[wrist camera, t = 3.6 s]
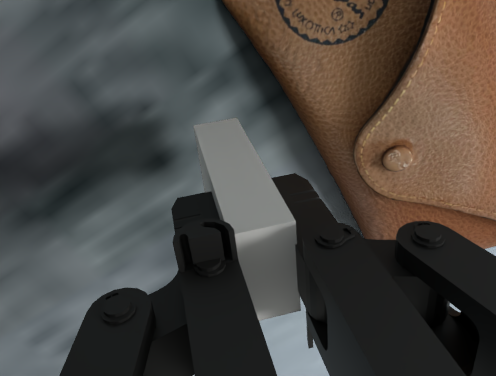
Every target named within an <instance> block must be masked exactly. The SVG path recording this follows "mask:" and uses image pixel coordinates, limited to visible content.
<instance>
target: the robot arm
mask: <svg viewBox="0 0 496 376" xmlns="http://www.w3.org/2000/svg"><path fill="white" fill-rule="evenodd" d="M193 126H194V132H195V138H196V144H197V150H198V155H199V161H200V167H201V173H202V179H203V184H204V190H205V193H200V194H195V195H190V196H185V197H180V198H177V200H176V201H175V203H174V205H173V207H172V215H173V221H174V229H175V235H174V238H173V246H174V251H175V255H176V260H177V264H178V268H179V270H178V273H177V275H176V276H175V277H174V279H173V280H172V281H171V282H170V283H168V284H167V285H166V286H164V287H163V288H161V289H159V290H158V291H155V292H153V293H151V294H149V295H147V293H146V292H144V291H142V290H140V289H138V288H122V289H117V290H113V291H111V292H109V293H107V294H105V295H102V296H101V297H100V298H99V299H97V300H96V301H95V302H94V303H93V304H92V305H91V307H90V308H89V310H88V311H87V313H86V315H85V317H84V320H83V322H82V324H81V327H80V329H79V331H78V334H77V336H76V338H75V341H74V343H73V345H72V348H71V350H70V352H69V355H68V357H67V359H66V362H65V364H64V366H63V369H62V371H61V373H60V376H192V375H194V374H195V376H277V374H276V371H275V368H274V365H273V362H272V359H271V356H270V353H269V350H268V347H267V344H266V341H265V338H264V335H263V332H262V329H261V326H260V323H259V321H260V320H264V319H268V318H272V317H276V316H280V315H284V314H288V313H293V312H297V311H301V307H300V296H301V299H302V301H303V303H304V305H305V307H306V319H307V340H308V346H309V348H312V347H313V339H314V341H315V344H316V346H317V348H318V350H319V353H320V355H321V357H322V359H323V362H324V364H325V366H326V368H327V371H328V373H329V375H330V376H496V256H494V255H493V254H491V253H489V252H488V251H486V250H485V249H483V248H481V247H480V246H478V245H476V244H475V243H473V242H472V241H470V240H468V239H467V238H465V237H463V236H462V235H460V234H459V233H457V232H455V231H454V230H452V229H450V228H449V227H446V226H444V225H442V224H440V223H435V222H430V221H414V222H410V223H406V224H405V225H403V226H402V227H400V228H399V230H398V232H397V234H396V240H375V239H365V238H362V237H361V235H360V234H359V233H358V232H357V231H356V230H355V229H354V228H352V227H350V226H348V225H345V224H343V223H338V222H337V221H336V219H335V218H334V217H333V215H332V214H331V212H330V211H329V210H328V208H327V207H326V205H325V204H324V203H323V201H322V200H321V199H320V198H319V196H318V194H317V193H316V191H314V189H313V187H312V186H311V184H310V183H309V182H308V180H306V179H304V178H303V177H301V176H299V175H297V174H295V173H294V174H289V175H284V176H279V177H274V178H271V177H270V175H269V173H268V172H267V170H266V168H265V167H264V165H263V163H262V161H261V160H260V158H259V156H258V154H257V153H256V151H255V149H254V147H253V146H252V144H251V142H250V140H249V139H248V137H247V135H246V133H245V132H244V130H243V128H242V126H241V125H240V123H239V121H238V119H237V118H232V119H227V120H221V121H215V122H210V123H204V124H199V125H193ZM450 303H451V304H453V305H454V306H455V307H456V308H458V309H459V310H460V311H461V313H460V312H457V311H456V310H454V309H453V308H452V307H450V306H449V304H450Z"/></svg>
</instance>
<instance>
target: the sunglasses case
mask: <svg viewBox="0 0 496 376" xmlns="http://www.w3.org/2000/svg"><path fill="white" fill-rule="evenodd" d="M222 2H223V3H224V5H225V6H226V8H227V9H228V10H229V12H230V13H231V15H232V16H233V17H234V19H235V20H236V21H237V23H238V24H239V26H240V27H241V29H242V30H243V31H244V32H245V34H246V36H247V37H248V38H249V39H250V40H251V42H252V44H253V46H254V48H255V49H256V50H257V51H258V53H259V55H260V56H261V57H262V58H263V60H264V61H265V63H266V64H267V65H268V66H269V68H270V70H271V71H272V73H273V74H274V76H275V77H276V79H277V80H278V82H279V83H280V85H281V86H282V88H283V91H284V92H285V93H286V95H287V97H288V98H289V100H290V102H291V103H292V105H293V107H294V109H295V110H296V111H297V113H298V115H299V117H300V119H301V121H302V122H303V124H304V125H305V127H306V129H307V131H308V133H309V135H310V136H311V138H312V140H313V141H314V143H315V145H316V147H317V149H318V150H319V152H320V155H321V156H322V158H323V159H324V161H325V163H326V165H327V168H328V169H329V172H330V174H331V175H332V176H333V178H334V179H335V182H336V183H337V185H338V186H339V188H340V191H341V193H342V195H343V197H344V199H345V200H346V203H347V204H348V206H349V208H350V210H351V211H352V215H353V217H354V218H355V219H356V221H357V224H358V226H359V227H360V230H361V231H362V234H363V236H364V238H365V239H375V240H396V234H397V232H398V230H399V228H400V227H402V226H403V225H405V224H406V223H410V222H414V221H430V222H435V223H440V224H442V225H444V226H446V227H449V228H450V229H452V230H454V231H455V232H457V233H459V234H460V235H462V236H463V237H465V238H467V239H468V240H470V241H472V242H473V243H475V244H476V245H478V246H480V247H481V248H483V249H486V248H490V247H493V246H496V0H222Z"/></svg>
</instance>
